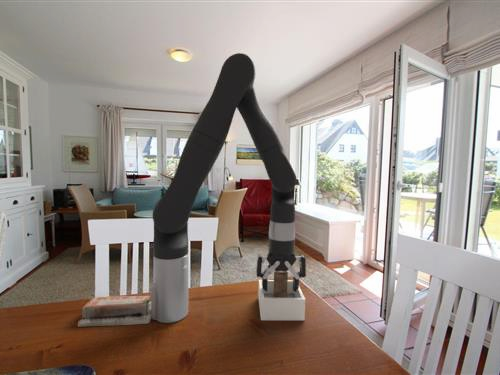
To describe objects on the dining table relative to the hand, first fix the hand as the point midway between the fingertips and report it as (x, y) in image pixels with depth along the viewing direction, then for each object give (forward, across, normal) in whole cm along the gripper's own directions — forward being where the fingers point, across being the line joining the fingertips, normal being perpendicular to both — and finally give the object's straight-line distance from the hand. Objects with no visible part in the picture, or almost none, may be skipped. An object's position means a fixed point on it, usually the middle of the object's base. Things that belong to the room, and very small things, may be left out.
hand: (280, 290), depth 77 cm
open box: (+6, 0, 0) cm, 6 cm away
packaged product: (+6, -45, -3) cm, 45 cm away
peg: (+6, 0, 0) cm, 6 cm away
